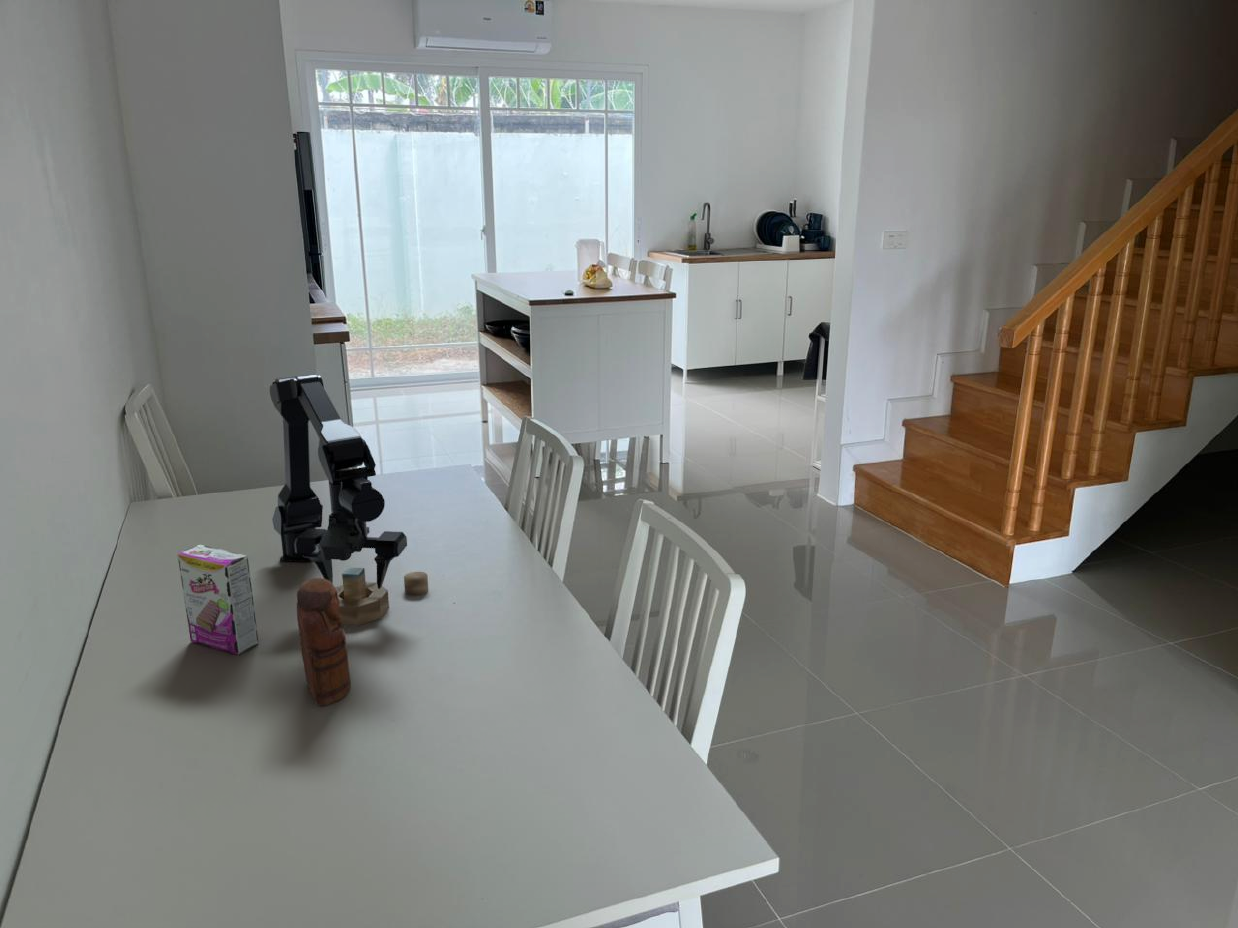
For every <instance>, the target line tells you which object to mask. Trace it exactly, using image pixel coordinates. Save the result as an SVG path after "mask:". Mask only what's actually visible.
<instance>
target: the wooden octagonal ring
mask: <svg viewBox="0 0 1238 928" xmlns="http://www.w3.org/2000/svg"><path fill="white" fill-rule="evenodd" d="M334 587H335V589H336V591H337V595H338V599H339V606H340V608H341V612H340V616H341V620H342V625H347V626H348V625H350V626H351V625H352V626H354V625H355V626H360V625H363V624H366V623H369V622H372V621H376V620H378V619H381V618H383V616H384V615H385V613H387V611H388V610H389V608H390V602H389V591H388V589H387V588H385V586H383V585H382V587H381V588H380V589H378V586H377V581H375V582H373V581H366V593H367V598H364V599H361V600H357V601H350V600H344V590H343V584H340V585H337V586H334Z"/></svg>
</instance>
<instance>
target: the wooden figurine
mask: <svg viewBox="0 0 1238 928" xmlns="http://www.w3.org/2000/svg"><path fill="white" fill-rule="evenodd" d="M335 587H336V586H335V585H334V584H332V582H330V581H329V580H327V579H324V577H317V578H311V579H308V580H306V581H304V582H302V584H300V586H299V588H298V589H297V591H296V592H297V593H296V598H297V602H296V619H297V625H298V631H299V633H298V634H299V638H300V649H301V657H302V662H303V667H304V673H305V674H304V675H305V680H306V683H307V685H308V688H309V689H310V692H311V696H312V698H313V700H314V701H315V703H316V704H317V705H319V706H328V705H331V704H333V703H335V702H337V701H340V700H341V699H342V698H344V697H345V696H347V694H348V693H349V692H350V691H351V677H350V676H351V673H350V667H349V657H348V651H347V646H346V645H347V640H346V639H347V638H346V632H345V630H344V628H343V624H342V620H341V616H340V612H341V608H340V606H339V599H338V595H337V591H336V589H335Z"/></svg>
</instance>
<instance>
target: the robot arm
mask: <svg viewBox="0 0 1238 928" xmlns="http://www.w3.org/2000/svg"><path fill="white" fill-rule="evenodd" d="M269 395H270V400H271V402H272V404H273V408H275V409H276V411H277V412H278V413H279V414H280V416H281V418H282V423H283V424H282V425H283V428H282V429H283V447H284V449H283V451H284V472H285V473H284V475H285V484H284V485H283V487H282V488H281V490H280V491H279V493H278V494H277V506H276V507H275V510H274V512H273V515H272V525H273V529H274V531H276V532H277V533H278V535H280V540H281V550H282V555H281V556H280V557H279V561H280V562H296V563H297V562H298V563H300V562H301V563H305V562H306V563H309V562H311V561H312V562H314V563H315V565H316V567H317V568H318V570H319V572H320V574H321V575H322V578H323V579H327V580H329V581H330V582H332V584H333V580H334V576H333V575H334V572H333V562H332V560H336V561H337V560H338V561H339V560H340V561H343V562H344V561H347V560H350V558H351V557H352V554H354V553H356V552H357V553H361V551H362V549H374V552H375V554H376V556H375V557H374V561H375V564H376V582H377V586H378V589H380V588H381V587H382V586H383V584H384V581H385V578H386V575H387V572H388V568H389V565H390V562H392V561H393V560H394V558H398V557H399V556H400V555H401V554H402V553H403V551H404V550H405V549H406V548H407V546H408V539H407V536H406V534H405V533H404V531H386V530H385V531H383V532H382V533H381V534H380V535H379V536H378V537H370V536H368V535H369V534H370V526H367V523H368V522H372V521H375V520H376V519H378V518H379V517H380V516H381V515H382V513H383V512H384V509H385V503H386V501H385V498H384V496H383V494H382V493H381V492H380V491H379V490H377V489H376V488H374V487H373V486H372V485H373V483H372V481H371V480H369V479H368V478H370V477H374V476H377V473H376V470H375V468H376V467H377V464H376V461H375V459H374V457H373V455H372V452H371V450H370V447H369V445H368V444H367V442H366V440H365V439H364V438H362V436H361V434H360V433H359V432H358V430H357V429H356V428H355V427H353V426H351V425H350V424H348V423H346V422H344V421H343V420H342V418H341V416H340V414H339V413H338V411H337V409H336V407H335V406H334V404H333V402H332V400H331V399H330V396H329V395H328V393H327V391H326V389H325V387H324V381H323V378H322V376H321V375H317V374H316V373H315V374H314V373H313V374H304V375H298V376H289V377H280V378H279V377H278V378H276V379H275V380H274V381H272V383H271V385H270V386H269ZM309 422H310V423H311V425H312V426H313V427H312V428H314V430H315V432H316V435H317V437H318V439H319V440H318V441H319V442H318V447H317V455H318V460H319V463H320V465H321V468H322V470H323V471H324V474H325V476H326V478H327V481H328V489H329V501H330V509H331V513H330V514H328V526H327V529H325V528H322V527H323V526H322V524H323V509H324V506H323V504H322V503H321V500H320V497H318V496H317V494H316V492H314V490H313V489H312V487H311V467H310V432H309V431H310V430H309ZM363 465H364V466H363ZM356 467H357V468H356ZM350 468H351V469H350ZM333 585H334V584H333Z"/></svg>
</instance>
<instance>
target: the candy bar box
mask: <svg viewBox="0 0 1238 928" xmlns="http://www.w3.org/2000/svg"><path fill="white" fill-rule="evenodd" d="M177 559H178V560H177V561H178V567H179V572H180V573H179V574H180V579H181V585H182V594H183V599H184V606H185V612H186V619H187V625H188V632H189V640H190V642H191V643H194V644H199V645H202V646H205V647H210V648H213V649H217V650H220V651H223V652H227V653H230V654H233V655H234V654H235V655H237V656H238V655H240V654H243V653H244V652H246V651H248V650H250V649H251V648H252V647H255V646H256V645H258V644H259V637H258V627H257V622H256V620H257V619H256V612H255V605H254V604H255V603H254V598H253V597H254V596H253V589H252V581H251V580H252V579H251V572H250V565H249V556H248V555H246V554H243V553H237V552H233V551H228V550H224V549H220V548H215V547H212V546H208V545H204V544H198V545H195V546H193V547H190V548H188V549H186V550H183V551H181V552H179V553H177Z"/></svg>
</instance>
